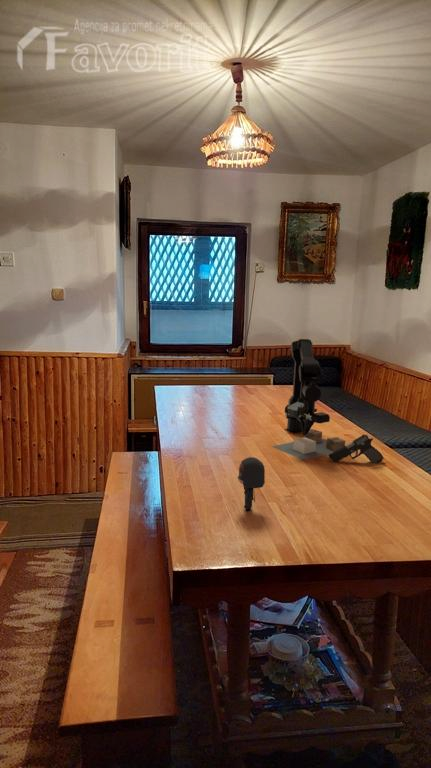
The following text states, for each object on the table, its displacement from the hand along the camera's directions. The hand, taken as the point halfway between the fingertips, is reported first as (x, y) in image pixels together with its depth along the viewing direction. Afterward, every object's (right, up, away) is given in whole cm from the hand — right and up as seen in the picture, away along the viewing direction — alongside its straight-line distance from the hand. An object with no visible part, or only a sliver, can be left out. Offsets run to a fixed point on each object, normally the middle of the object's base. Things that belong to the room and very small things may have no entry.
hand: (305, 435), depth 191 cm
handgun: (+17, -9, -9) cm, 21 cm away
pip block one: (+6, -4, +14) cm, 15 cm away
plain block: (0, -6, +1) cm, 6 cm away
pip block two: (+12, -6, +4) cm, 14 cm away
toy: (-25, -16, -50) cm, 58 cm away
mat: (+3, -6, +5) cm, 8 cm away
